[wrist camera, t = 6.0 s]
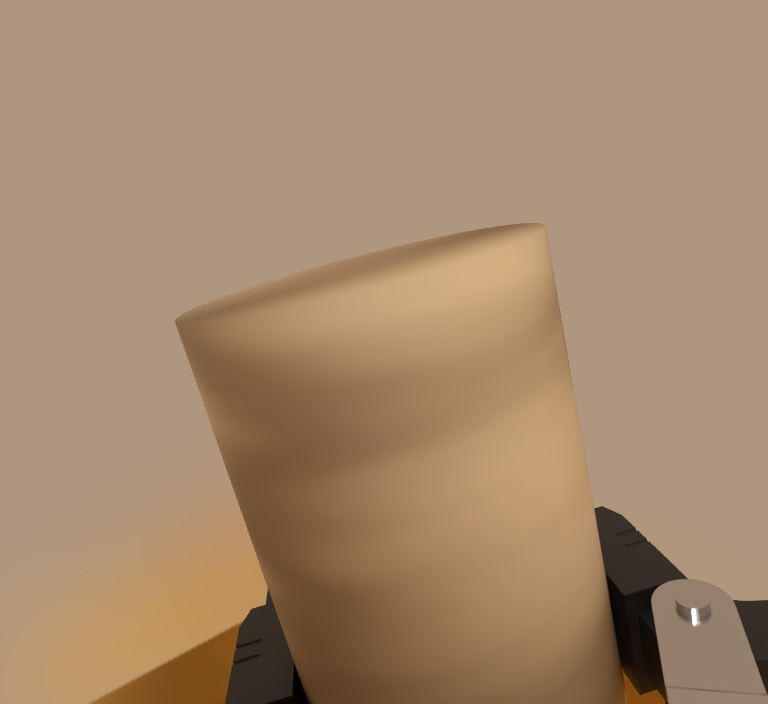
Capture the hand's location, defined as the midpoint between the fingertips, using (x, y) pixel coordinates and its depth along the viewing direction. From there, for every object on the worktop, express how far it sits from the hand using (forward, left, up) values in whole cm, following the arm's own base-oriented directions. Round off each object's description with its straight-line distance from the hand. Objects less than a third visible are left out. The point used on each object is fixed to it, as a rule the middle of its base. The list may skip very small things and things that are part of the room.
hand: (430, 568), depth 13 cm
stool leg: (+2, -1, -10) cm, 10 cm away
